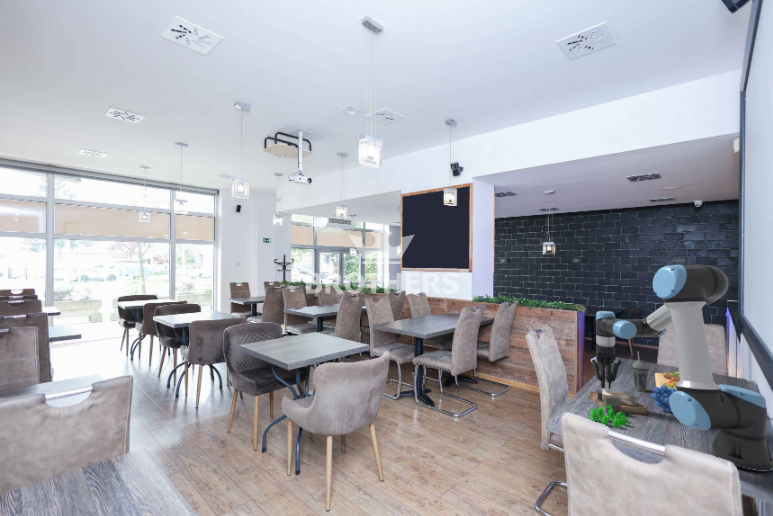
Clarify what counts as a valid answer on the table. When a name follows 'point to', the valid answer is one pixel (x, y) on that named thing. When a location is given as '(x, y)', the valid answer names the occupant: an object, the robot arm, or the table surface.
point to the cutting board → (667, 379)
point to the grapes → (663, 397)
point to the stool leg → (624, 399)
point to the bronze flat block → (617, 404)
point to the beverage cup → (640, 374)
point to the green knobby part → (610, 416)
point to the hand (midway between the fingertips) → (605, 395)
